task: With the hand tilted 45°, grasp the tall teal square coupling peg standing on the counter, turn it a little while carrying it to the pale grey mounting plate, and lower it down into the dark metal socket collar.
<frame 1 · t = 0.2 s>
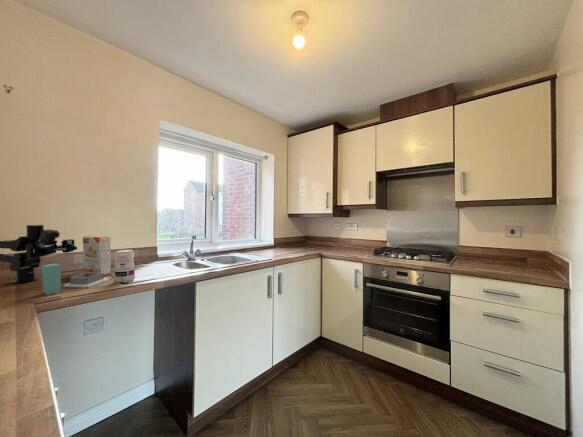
hand: (66, 249, 118), 17 cm above the worktop, tool horizontal, fingers open, 9 cm apart
cracker box: (97, 274, 138), on the worktop
supplement can: (125, 281, 126), on the worktop
coupling peg: (52, 292, 107), on the worktop
mounting plate: (87, 283, 121), on the worktop
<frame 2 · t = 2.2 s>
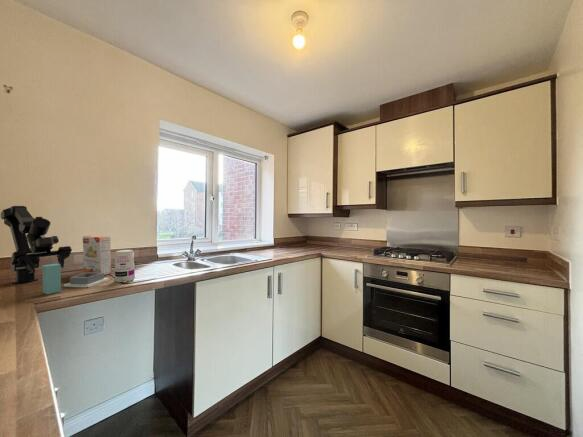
hand: (49, 269, 108), 10 cm above the worktop, tool tilted 45°, fingers open, 9 cm apart
nothing on the worktop moved.
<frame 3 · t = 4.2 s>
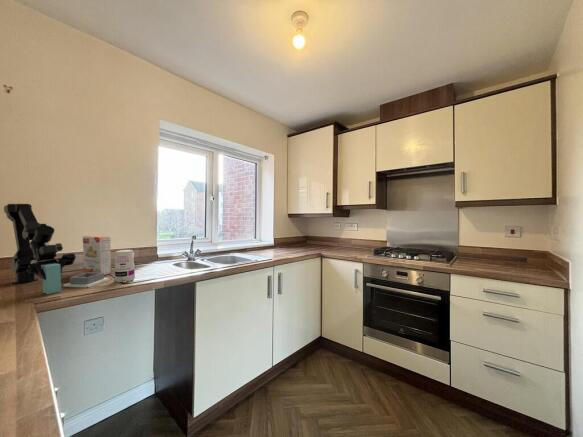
hand: (53, 277, 106), 7 cm above the worktop, tool tilted 45°, fingers closed on coupling peg, 4 cm apart
coupling peg: (52, 292, 107), on the worktop, touching gripper
everything else where it was.
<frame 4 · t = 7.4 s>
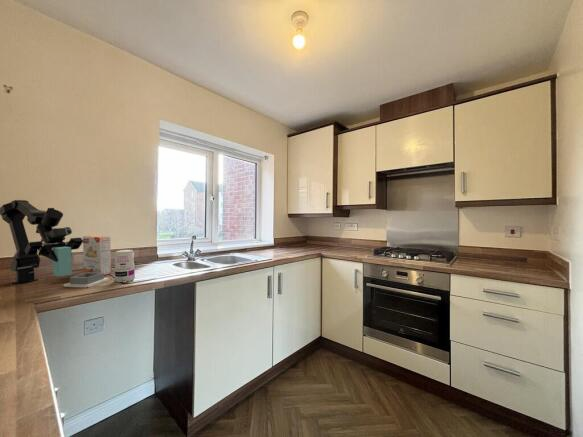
hand: (64, 260, 110), 14 cm above the worktop, tool tilted 45°, fingers closed on coupling peg, 4 cm apart
coupling peg: (62, 274, 110), point 7 cm above the worktop, touching gripper
everything else where it was.
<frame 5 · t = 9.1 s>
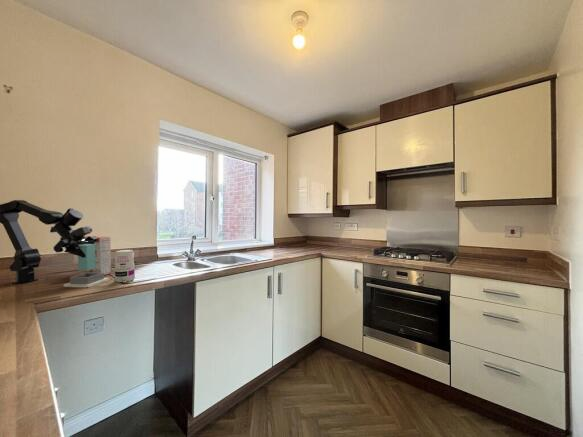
hand: (89, 256, 120), 13 cm above the worktop, tool tilted 45°, fingers closed on coupling peg, 4 cm apart
coupling peg: (87, 269, 121), point 7 cm above the worktop, touching gripper
everything else where it was.
when the fingers open (9 cm above the worktop, at t = 10.4 s): coupling peg stays where it is, resting on mounting plate.
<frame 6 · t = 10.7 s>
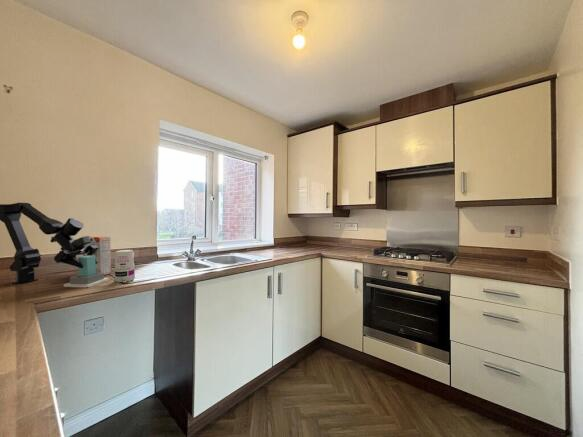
hand: (89, 265, 120), 9 cm above the worktop, tool tilted 45°, fingers open, 7 cm apart
coupling peg: (87, 281, 121), point 1 cm above the worktop, touching mounting plate
everything else where it was.
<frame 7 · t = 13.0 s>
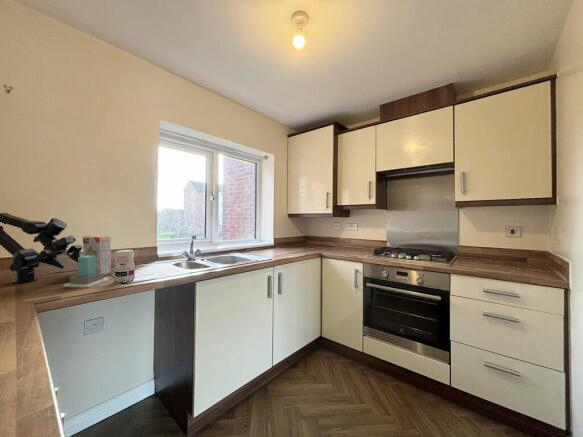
hand: (72, 265, 121), 8 cm above the worktop, tool tilted 45°, fingers open, 9 cm apart
nothing on the worktop moved.
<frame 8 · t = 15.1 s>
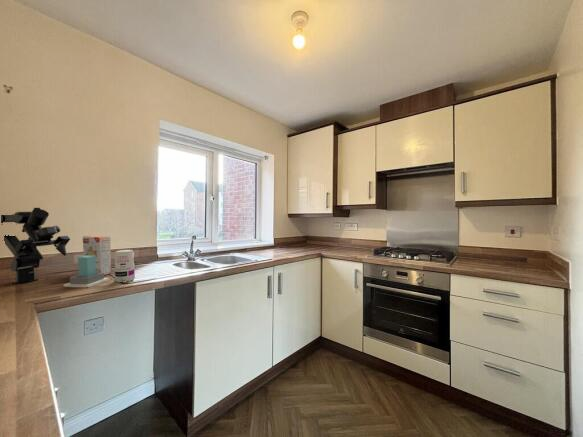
hand: (54, 256, 116), 14 cm above the worktop, tool tilted 45°, fingers open, 9 cm apart
nothing on the worktop moved.
at the end: coupling peg 0.0 cm off-centre on the mounting plate, point 1.0 cm above the mounting plate's base; coupling peg tilted 0°; the gripper is holding nothing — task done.
